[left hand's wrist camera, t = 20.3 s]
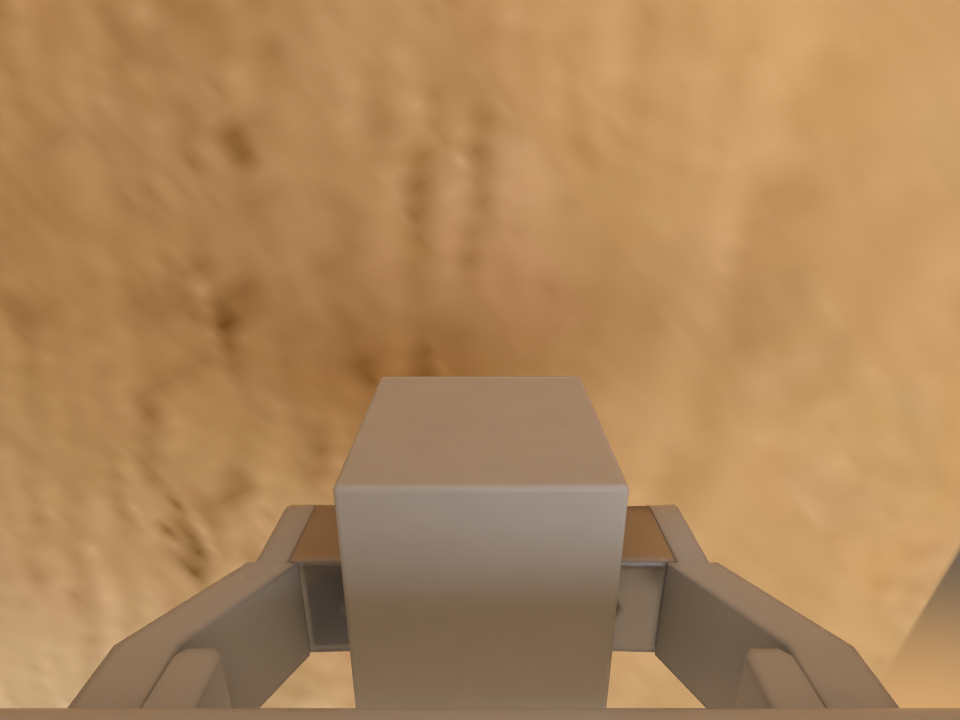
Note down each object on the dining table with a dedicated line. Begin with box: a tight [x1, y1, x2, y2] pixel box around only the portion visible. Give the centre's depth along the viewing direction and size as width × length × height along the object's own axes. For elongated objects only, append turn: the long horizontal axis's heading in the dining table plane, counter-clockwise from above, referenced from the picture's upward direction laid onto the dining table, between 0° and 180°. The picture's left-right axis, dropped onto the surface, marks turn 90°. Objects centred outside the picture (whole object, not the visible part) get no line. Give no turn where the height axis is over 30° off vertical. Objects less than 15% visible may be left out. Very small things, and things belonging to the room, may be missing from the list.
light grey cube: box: [333, 376, 629, 708], centre depth 10 cm, size 4×4×4 cm
